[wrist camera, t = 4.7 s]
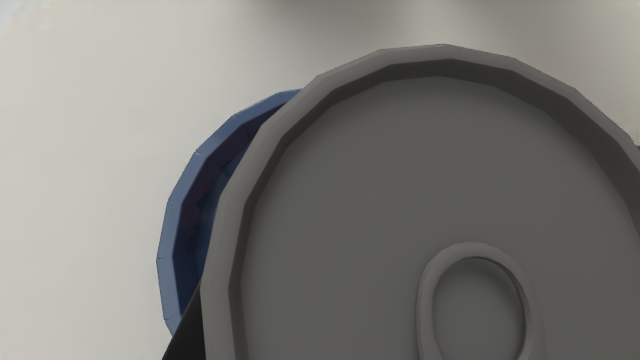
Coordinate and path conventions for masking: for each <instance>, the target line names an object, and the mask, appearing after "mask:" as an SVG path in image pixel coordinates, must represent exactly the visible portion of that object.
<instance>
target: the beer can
mask: <svg viewBox="0 0 640 360" xmlns="http://www.w3.org/2000/svg"><path fill="white" fill-rule="evenodd" d="M200 297H201V307H202V318H203V329H204V340H205V351H206V360H640V150H639V149H638V148H637V146H636V145H635V143H634V142H633V141H632V139H631V138H630V137H629V135H628V134H627V133H626V132H625V131H623V130H622V129H621V128H620V127H619V126H618V125H616V124H615V123H614V122H613V121H612V120H611V119H610V118H608V117H607V116H606V115H605V114H604V113H603V112H601V111H600V110H599V109H598V108H597V107H596V106H594V105H593V104H592V103H591V102H590V101H589V100H588V99H586V98H585V97H584V96H583V95H582V94H581V93H579V92H578V91H577V90H576V89H575V88H573V87H571V86H569V85H567V84H565V83H563V82H561V81H559V80H557V79H555V78H553V77H551V76H549V75H547V74H545V73H543V72H541V71H539V70H537V69H535V68H533V67H531V66H529V65H527V64H525V63H523V62H521V61H519V60H517V59H515V58H512V57H507V56H503V55H498V54H493V53H488V52H483V51H478V50H473V49H468V48H464V47H459V46H454V45H449V44H436V45H424V46H413V47H402V48H390V49H380V50H377V51H375V52H373V53H370V54H368V55H366V56H363V57H361V58H359V59H356V60H354V61H351V62H349V63H347V64H344V65H342V66H340V67H337V68H335V69H332V70H330V71H328V72H325V73H323V74H321V75H318V76H317V77H315V78H314V79H313V80H312V81H311V82H310V83H309V84H308V85H306V86H305V87H304V88H303V89H302V90H301V91H300V92H298V93H297V94H296V95H295V96H294V97H293V98H292V99H291V100H289V101H288V102H287V103H286V104H285V105H284V106H283V107H281V108H280V109H279V110H278V111H277V112H276V113H275V114H273V115H272V116H271V117H270V118H269V119H268V120H267V121H266V122H264V123H263V124H262V125H261V127H260V129H259V130H258V132H257V134H256V136H255V137H254V139H253V141H252V142H251V144H250V146H249V148H248V149H247V151H246V153H245V154H244V156H243V158H242V160H241V161H240V163H239V165H238V166H237V168H236V170H235V172H234V173H233V175H232V177H231V178H230V180H229V182H228V184H227V185H226V187H225V189H224V190H223V192H222V194H221V196H220V198H219V203H218V208H217V212H216V217H215V221H214V226H213V230H212V235H211V239H210V244H209V249H208V253H207V258H206V262H205V267H204V271H203V276H202V281H201V285H200Z"/></svg>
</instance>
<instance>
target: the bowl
mask: <svg viewBox="0 0 640 360" xmlns="http://www.w3.org/2000/svg"><path fill="white" fill-rule="evenodd" d="M302 89H303V88H302ZM302 89H296V90H290V91H284V92H279V93H276V94H274V95H272V96H270V97H268V98H266V99H264V100H262V101H260V102H258V103H256V104H254V105H252V106H250V107H248V108H246V109H244V110H242V111H240V112H238V113H236V114H234V116H231V117H230V118H229V119H228V120H227V121H226V122H225V123H224V124H223V125H222V126H221V127H220V128H219V129H218V130H217V131H216V132H214V133H213V134H212V135H211V136H210V137H209V138H208V139H207V140H206V141H205V142H204V143H203V144H202V145H201V146H200V147H199V148H198V149H197V150H196V152H194V154H193V155H192V157H191V159H190V161H189V163H188V164H187V166H186V168H185V170H184V172H183V173H182V175H181V177H180V179H179V181H178V182H177V184H176V186H175V188H174V190H173V192H172V193H171V195H170V197H169V199H168V200H169V201H168V202H167V206H166V211H165V216H164V222H163V227H162V232H161V237H160V242H159V247H158V252H157V258H158V259H156V263H157V271H158V279H159V286H160V294H161V301H162V309H163V317H164V320H165V323H166V325H167V327H168V329H169V331H170V333H171V335H172V337H173V335H174V333H175V331H176V329H177V327H178V325H179V323H180V321H181V319H182V317H183V315H184V313H185V310H186V308H187V306H188V304H189V302H190V300H191V298H192V296H193V294H194V292H195V290H196V288H197V286H198V284H199V282H200V279H201V277H202V275H203V271H204V267H205V262H206V258H207V253H208V249H209V244H210V239H211V235H212V230H213V226H214V221H215V217H216V212H217V208H218V203H219V198H220V196H221V194H222V192H223V190H224V189H225V187H226V185H227V184H228V182H229V180H230V178H231V177H232V175H233V173H234V172H235V170H236V168H237V166H238V165H239V163H240V161H241V160H242V158H243V156H244V154H245V153H246V151H247V149H248V148H249V146H250V144H251V142H252V141H253V139H254V137H255V136H256V134H257V132H258V130H259V129H260V127H261V125H262V124H263V123H264V122H266V121H267V120H268V119H269V118H270V117H271V116H272V115H273V114H275V113H276V112H277V111H278V110H279V109H280V108H281V107H283V106H284V105H285V104H286V103H287V102H288V101H289V100H291V99H292V98H293V97H294V96H295V95H296V94H297V93H298V92H300V91H301V90H302Z"/></svg>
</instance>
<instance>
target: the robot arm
mask: <svg viewBox="0 0 640 360" xmlns="http://www.w3.org/2000/svg"><path fill="white" fill-rule="evenodd" d="M202 276H203V275H202ZM201 281H202V277H201V279H200V282H199V284H198V286H197V288H196V290H195V292H194V294H193V296H192V298H191V300H190V302H189V304H188V306H187V308H186V310H185V313H184V315H183V317H182V319H181V321H180V323H179V325H178V327H177V329H176V331H175V333H174V335H173V337H172V339H171V341H170V344H169V346H168V348H167V350H166V352H165V354H164V356H163V358H162V360H206V351H205V340H204V329H203V318H202V307H201V297H200V285H201Z"/></svg>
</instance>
